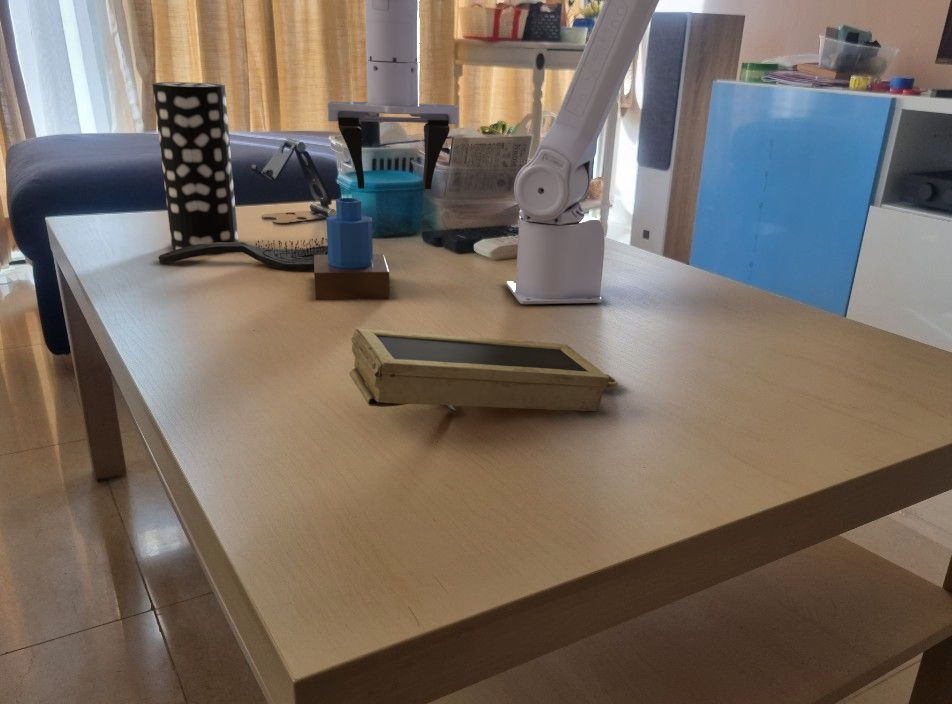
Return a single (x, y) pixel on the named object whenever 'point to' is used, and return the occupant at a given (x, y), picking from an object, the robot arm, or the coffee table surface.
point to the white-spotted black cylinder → (196, 162)
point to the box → (473, 372)
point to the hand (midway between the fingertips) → (394, 187)
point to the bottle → (349, 235)
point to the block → (351, 280)
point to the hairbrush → (254, 254)
